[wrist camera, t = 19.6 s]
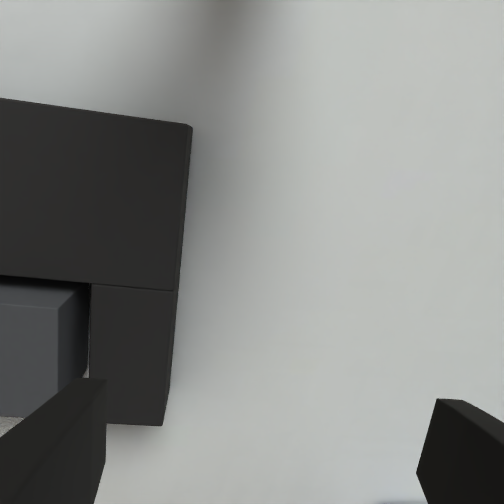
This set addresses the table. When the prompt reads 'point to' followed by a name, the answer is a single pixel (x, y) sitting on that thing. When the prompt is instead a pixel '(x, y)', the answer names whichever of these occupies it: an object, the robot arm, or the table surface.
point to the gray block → (40, 340)
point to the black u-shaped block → (102, 234)
